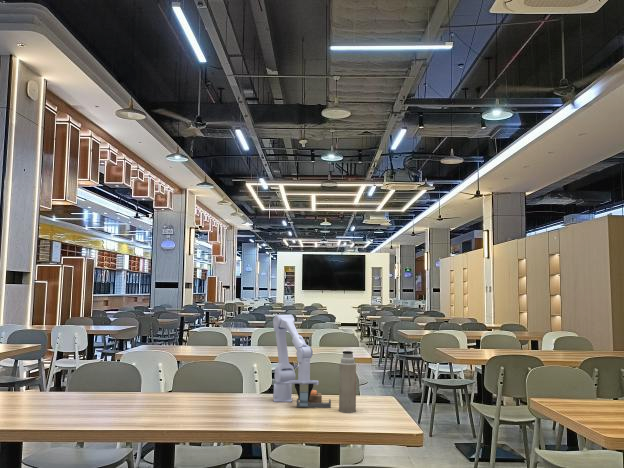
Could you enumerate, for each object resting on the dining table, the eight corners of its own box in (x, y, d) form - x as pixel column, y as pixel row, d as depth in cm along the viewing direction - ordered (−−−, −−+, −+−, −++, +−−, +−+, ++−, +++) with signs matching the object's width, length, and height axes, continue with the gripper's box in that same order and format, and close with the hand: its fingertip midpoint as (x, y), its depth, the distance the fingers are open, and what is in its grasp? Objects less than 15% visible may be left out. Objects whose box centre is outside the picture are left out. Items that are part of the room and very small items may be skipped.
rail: (296, 407, 274) (296, 399, 274) (296, 406, 277) (296, 398, 277) (330, 407, 274) (330, 400, 274) (330, 406, 277) (330, 399, 277)
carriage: (299, 406, 273) (299, 393, 274) (299, 404, 278) (299, 391, 279) (307, 406, 273) (308, 393, 274) (307, 404, 278) (308, 391, 279)
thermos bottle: (356, 409, 271) (357, 350, 273) (354, 413, 263) (355, 352, 266) (340, 408, 272) (340, 350, 275) (337, 412, 264) (338, 351, 267)
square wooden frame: (305, 404, 282) (305, 395, 283) (305, 400, 290) (305, 393, 291) (321, 404, 282) (321, 396, 283) (321, 401, 290) (321, 393, 291)
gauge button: (310, 398, 285) (310, 391, 286) (310, 397, 288) (310, 390, 289) (316, 398, 285) (316, 391, 286) (316, 397, 288) (316, 390, 289)
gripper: (289, 372, 273) (288, 401, 272) (319, 372, 273) (318, 401, 272) (289, 370, 280) (289, 398, 279) (318, 370, 280) (318, 398, 279)
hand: (303, 399), depth 276 cm, fingers closed on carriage, 4 cm apart
